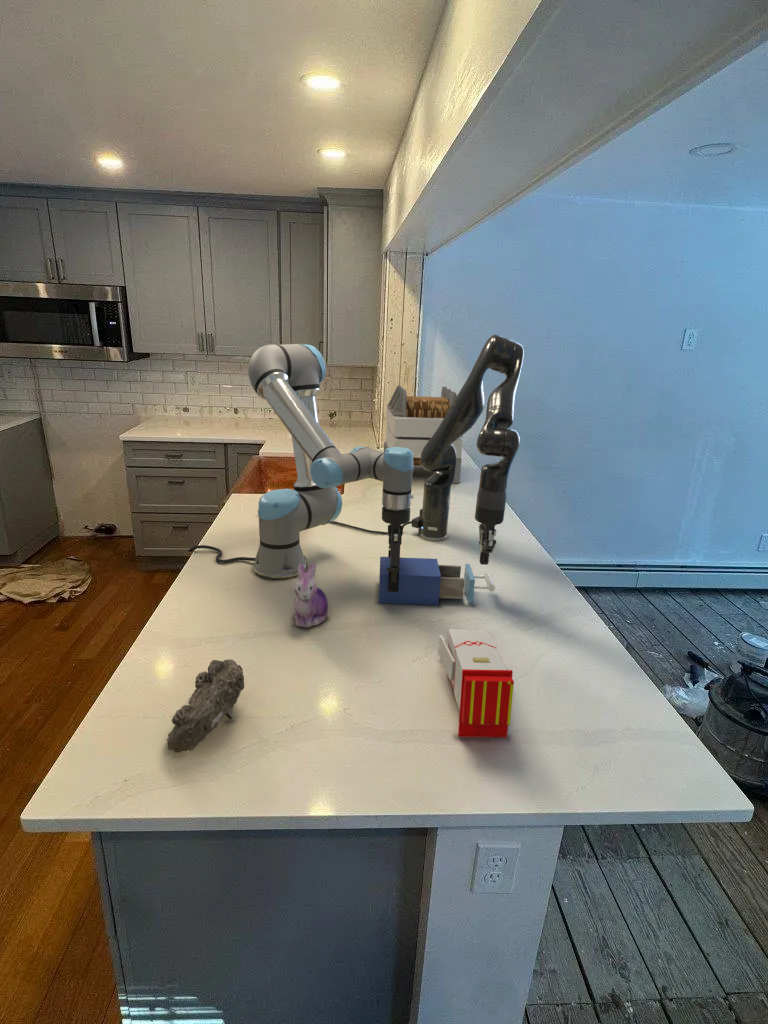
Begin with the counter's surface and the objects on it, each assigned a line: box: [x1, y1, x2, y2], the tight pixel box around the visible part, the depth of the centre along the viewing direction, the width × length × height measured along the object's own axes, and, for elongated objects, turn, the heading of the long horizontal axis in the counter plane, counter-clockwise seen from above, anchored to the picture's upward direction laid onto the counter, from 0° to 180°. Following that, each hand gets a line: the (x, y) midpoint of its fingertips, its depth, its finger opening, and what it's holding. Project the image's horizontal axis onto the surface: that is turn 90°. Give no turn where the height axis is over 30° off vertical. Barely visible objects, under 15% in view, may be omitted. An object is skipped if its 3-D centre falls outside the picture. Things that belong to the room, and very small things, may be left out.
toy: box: [437, 628, 515, 738], centre depth 117 cm, size 12×13×30 cm
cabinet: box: [378, 556, 441, 606], centre depth 157 cm, size 16×11×8 cm
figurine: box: [293, 562, 329, 628], centre depth 140 cm, size 9×10×15 cm
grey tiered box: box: [383, 384, 464, 484], centre depth 268 cm, size 34×33×41 cm
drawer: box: [438, 563, 496, 603], centre depth 157 cm, size 21×10×7 cm, turn 90°
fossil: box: [166, 658, 245, 754], centre depth 106 cm, size 22×10×15 cm
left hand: (392, 581), depth 157 cm, fingers closed on cabinet, 11 cm apart
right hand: (483, 563), depth 155 cm, fingers closed
